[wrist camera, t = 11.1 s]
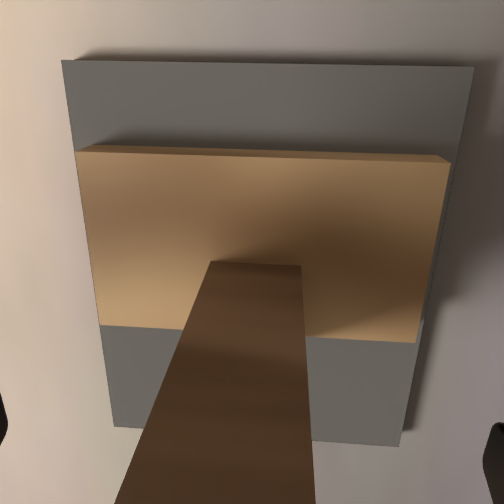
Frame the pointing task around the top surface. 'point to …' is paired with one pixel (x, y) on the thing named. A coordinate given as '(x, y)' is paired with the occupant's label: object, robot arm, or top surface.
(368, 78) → the rest mat
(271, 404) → the wooden stamp block
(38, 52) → the top surface
